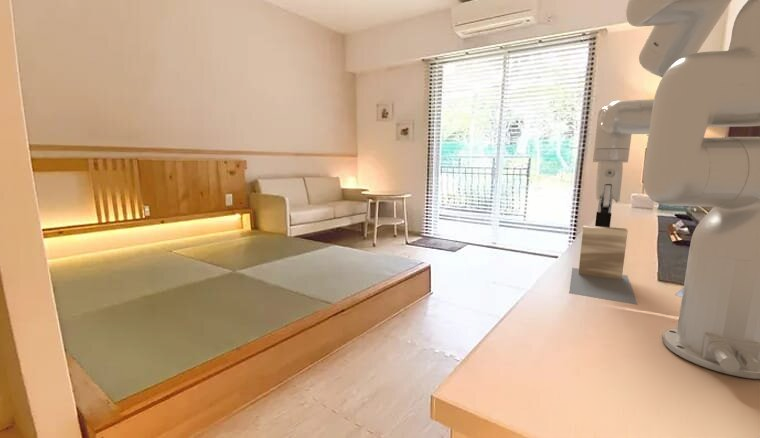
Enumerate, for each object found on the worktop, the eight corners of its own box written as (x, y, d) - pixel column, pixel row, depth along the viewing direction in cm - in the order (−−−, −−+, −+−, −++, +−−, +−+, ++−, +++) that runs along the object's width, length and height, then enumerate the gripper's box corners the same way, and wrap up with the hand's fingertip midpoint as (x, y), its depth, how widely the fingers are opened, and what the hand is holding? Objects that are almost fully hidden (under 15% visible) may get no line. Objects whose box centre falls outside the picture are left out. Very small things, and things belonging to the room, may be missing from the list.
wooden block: (621, 279, 84) (627, 230, 82) (578, 273, 88) (583, 226, 86) (620, 276, 86) (626, 228, 84) (578, 270, 91) (583, 225, 89)
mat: (637, 306, 69) (637, 304, 69) (568, 295, 75) (569, 292, 75) (626, 277, 87) (627, 275, 87) (572, 269, 93) (572, 267, 93)
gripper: (631, 156, 80) (621, 234, 84) (625, 156, 93) (617, 224, 96) (593, 156, 84) (585, 231, 87) (592, 156, 97) (585, 221, 100)
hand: (602, 227), depth 92 cm, fingers closed
